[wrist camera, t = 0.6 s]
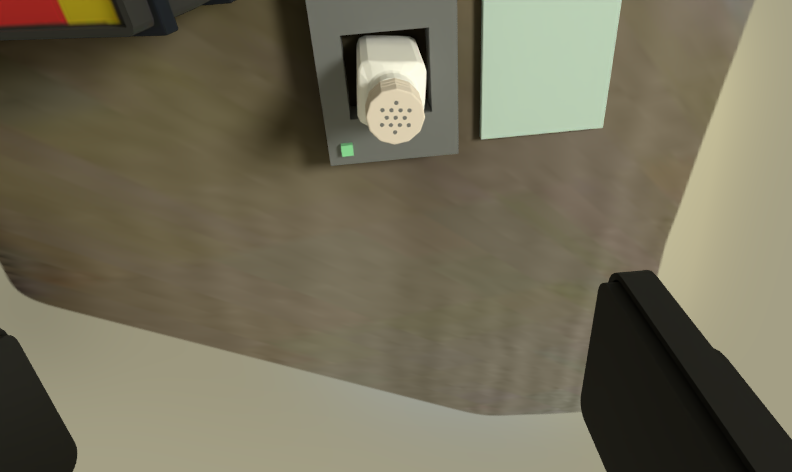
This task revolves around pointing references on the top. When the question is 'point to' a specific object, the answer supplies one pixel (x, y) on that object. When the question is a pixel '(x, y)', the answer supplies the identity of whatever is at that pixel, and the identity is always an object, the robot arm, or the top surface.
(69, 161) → the top surface
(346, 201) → the top surface
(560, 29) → the mat
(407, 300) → the top surface
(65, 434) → the robot arm
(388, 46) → the salt shaker
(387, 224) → the top surface
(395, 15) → the frame
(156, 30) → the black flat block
